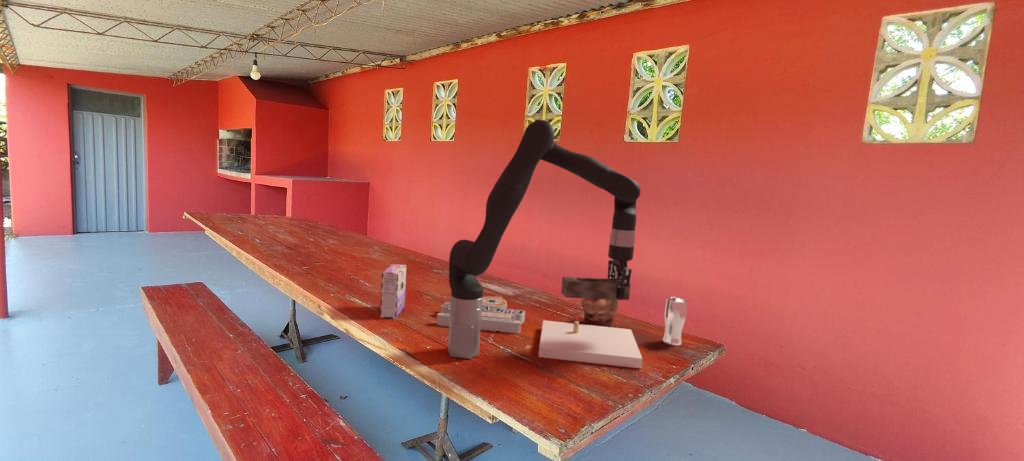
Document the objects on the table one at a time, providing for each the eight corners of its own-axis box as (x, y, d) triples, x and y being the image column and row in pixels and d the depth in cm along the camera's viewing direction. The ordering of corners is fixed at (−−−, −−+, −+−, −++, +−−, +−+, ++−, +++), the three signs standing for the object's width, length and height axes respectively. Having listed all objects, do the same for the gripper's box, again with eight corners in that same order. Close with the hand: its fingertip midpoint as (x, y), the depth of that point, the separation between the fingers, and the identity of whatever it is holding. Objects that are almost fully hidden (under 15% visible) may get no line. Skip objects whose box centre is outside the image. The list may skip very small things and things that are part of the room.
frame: (621, 294, 158) (623, 279, 157) (628, 299, 152) (630, 284, 151) (561, 292, 155) (562, 276, 154) (566, 297, 149) (567, 281, 148)
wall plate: (641, 368, 143) (643, 347, 142) (538, 356, 146) (540, 335, 145) (630, 337, 169) (632, 319, 168) (542, 328, 172) (544, 310, 171)
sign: (433, 314, 167) (452, 292, 197) (432, 326, 168) (452, 302, 197) (522, 323, 164) (528, 299, 194) (521, 335, 165) (527, 309, 194)
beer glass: (657, 340, 168) (662, 298, 166) (668, 337, 172) (673, 295, 170) (675, 347, 163) (680, 303, 161) (686, 343, 167) (692, 301, 165)
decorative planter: (593, 315, 192) (597, 280, 190) (623, 322, 186) (627, 286, 184) (571, 327, 175) (575, 289, 173) (604, 335, 169) (608, 296, 167)
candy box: (389, 306, 184) (391, 263, 182) (405, 307, 184) (407, 264, 182) (379, 318, 170) (381, 271, 168) (396, 319, 170) (398, 272, 168)
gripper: (642, 248, 146) (636, 303, 148) (624, 240, 160) (619, 291, 162) (618, 247, 145) (612, 302, 147) (602, 239, 159) (597, 290, 161)
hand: (616, 296), depth 154 cm, fingers closed on frame, 6 cm apart
